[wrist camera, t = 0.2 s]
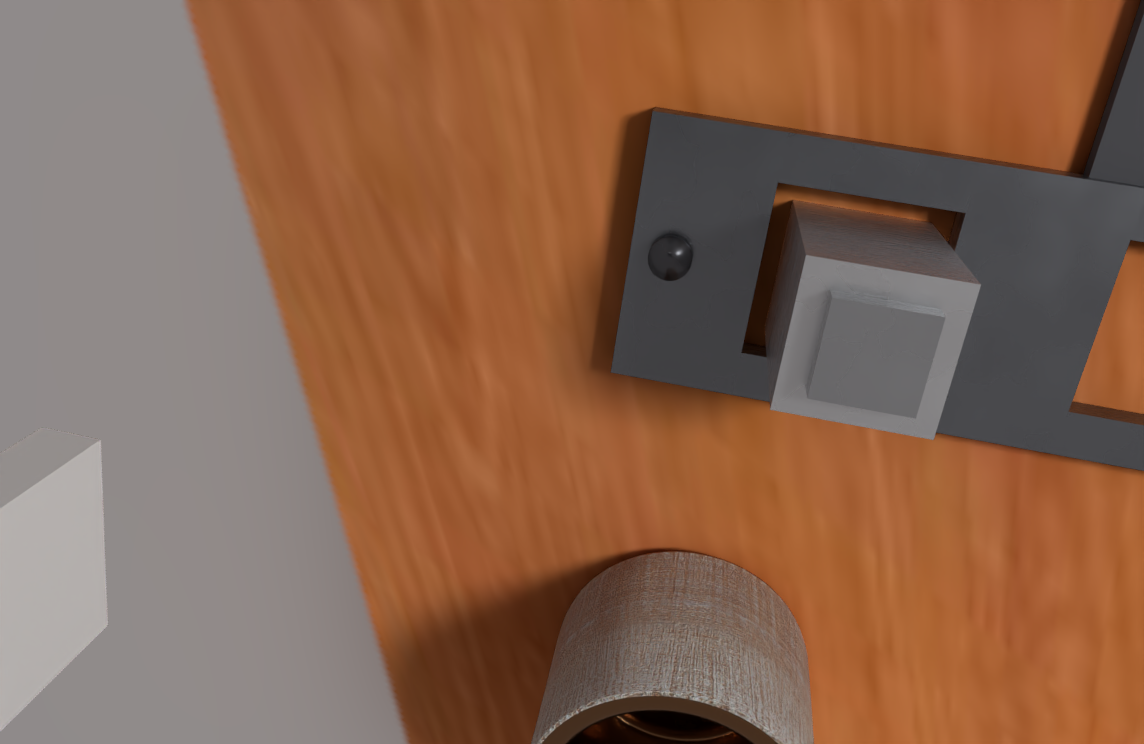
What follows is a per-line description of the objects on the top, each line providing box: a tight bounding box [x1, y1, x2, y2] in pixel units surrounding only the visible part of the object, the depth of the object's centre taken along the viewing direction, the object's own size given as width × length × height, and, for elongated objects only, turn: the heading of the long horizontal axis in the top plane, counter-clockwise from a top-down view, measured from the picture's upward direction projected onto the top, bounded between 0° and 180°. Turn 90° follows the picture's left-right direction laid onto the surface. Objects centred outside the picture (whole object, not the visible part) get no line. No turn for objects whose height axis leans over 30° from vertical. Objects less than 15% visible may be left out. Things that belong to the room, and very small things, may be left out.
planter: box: [531, 551, 814, 744], centre depth 39 cm, size 11×11×10 cm
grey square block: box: [765, 200, 981, 440], centre depth 33 cm, size 5×5×9 cm
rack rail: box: [611, 107, 1144, 471], centre depth 35 cm, size 10×28×2 cm, turn 82°
